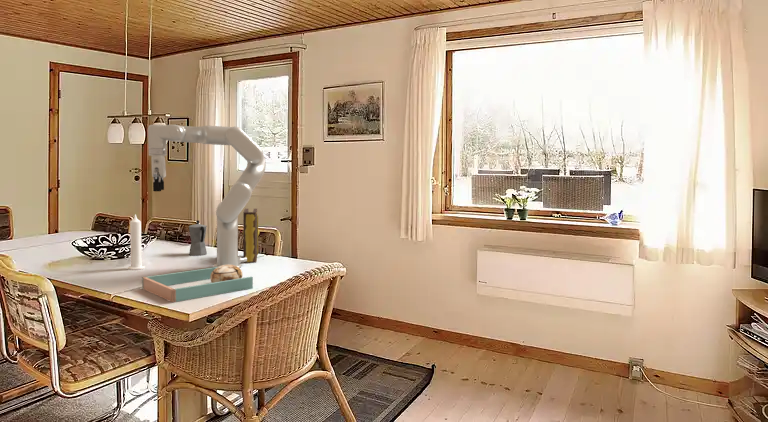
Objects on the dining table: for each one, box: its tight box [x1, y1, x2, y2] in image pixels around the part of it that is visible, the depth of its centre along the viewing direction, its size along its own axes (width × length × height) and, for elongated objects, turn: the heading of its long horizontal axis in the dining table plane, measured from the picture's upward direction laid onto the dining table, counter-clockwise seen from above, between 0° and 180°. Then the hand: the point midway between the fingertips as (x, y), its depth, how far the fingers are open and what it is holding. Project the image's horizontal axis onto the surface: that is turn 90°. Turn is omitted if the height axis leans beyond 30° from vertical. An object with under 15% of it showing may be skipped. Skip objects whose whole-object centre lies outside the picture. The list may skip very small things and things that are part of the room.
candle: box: [127, 213, 146, 271], centre depth 249 cm, size 7×7×25 cm
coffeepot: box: [188, 220, 208, 257], centre depth 287 cm, size 15×9×18 cm, turn 37°
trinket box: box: [209, 265, 243, 283], centre depth 225 cm, size 13×15×8 cm
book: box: [242, 208, 260, 264], centre depth 279 cm, size 22×8×25 cm, turn 12°
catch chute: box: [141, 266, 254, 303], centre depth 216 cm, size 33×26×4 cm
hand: (158, 190), depth 246 cm, fingers open, 9 cm apart
